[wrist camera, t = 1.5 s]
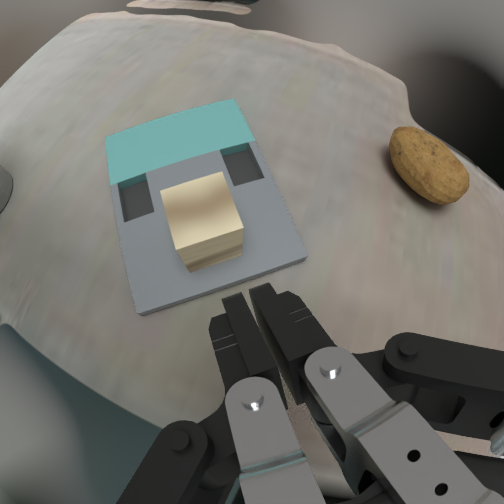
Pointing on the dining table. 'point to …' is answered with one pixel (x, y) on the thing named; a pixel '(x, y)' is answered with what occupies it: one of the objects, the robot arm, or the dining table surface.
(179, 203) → the maple block
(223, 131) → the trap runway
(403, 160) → the potato
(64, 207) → the dining table surface
